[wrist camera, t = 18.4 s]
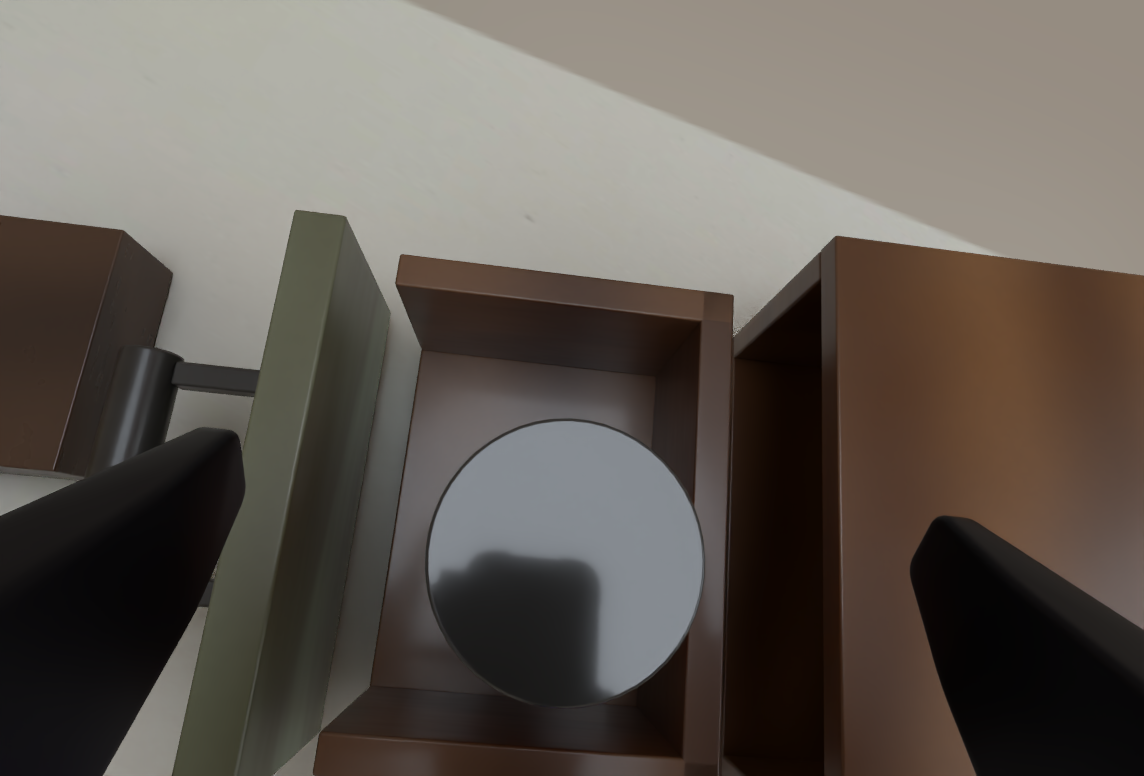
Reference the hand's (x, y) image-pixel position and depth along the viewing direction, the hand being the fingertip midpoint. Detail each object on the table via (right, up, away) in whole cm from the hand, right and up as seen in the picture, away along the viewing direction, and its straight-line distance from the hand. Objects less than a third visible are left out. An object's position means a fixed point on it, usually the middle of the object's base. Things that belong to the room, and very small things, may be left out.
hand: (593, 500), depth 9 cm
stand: (-17, +2, +12) cm, 21 cm away
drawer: (-5, -2, +12) cm, 13 cm away
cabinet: (+10, -4, +13) cm, 17 cm away
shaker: (-1, -3, +10) cm, 11 cm away
